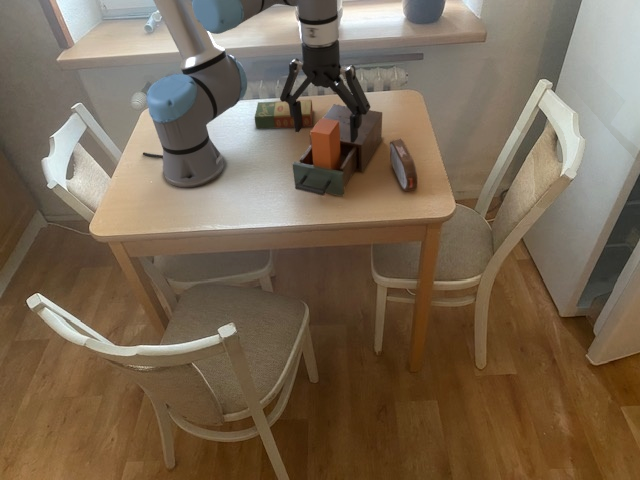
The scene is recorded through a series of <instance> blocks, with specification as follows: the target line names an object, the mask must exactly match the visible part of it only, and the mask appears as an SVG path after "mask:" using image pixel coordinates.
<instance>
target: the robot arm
mask: <svg viewBox="0 0 640 480" xmlns="http://www.w3.org/2000/svg"><path fill="white" fill-rule="evenodd" d="M153 3H154V4H155V7H156V8H157V10H158V12H159V15H160V17H161V19H162V21H163V22H164V24H165V27H166V28H167V30H168V32H169V34H170V36H171V38H172V41H173V42H174V44H175V46H176V48H177V50H178V53H179V54H180V56H181V58H182V59H181V64H180V71H181V72H182V73H173V74H171V75H170V76H167V75H166V76H164V77H162V78H159V79H158V80H157V81H155V82H154V83H152V84H151V86H149V89H148V90H147V92H146V97H145V98H146V104H147V108H148V114H149V117H150V118H151V120H152V122H153V126H154V128H155V131H156V134H157V136H158V139H159V142H160V145H161V147H162V154H154V153H148V152H145V151H143V152H142V155H143V156H145V157H148V158H158V159H162V173H163V176H164V178H165V180H166V182H168V184H170V185H172V186H174V187H179V188H194V187H195V188H196V187H200V186H203V185H206V184H208V183H211V182H212V181H214V180H215V179H217V178H218V177H219V175H221V173H222V171H223V170H224V159H223V156H222V155H221V152H220V151H219V149H218V148H217V146H216V145H215V143H214V142H212V139H211V138H210V135H209V131H208V127H207V125H208V124H209V123H210V122H212V121H213V120H215V119H217V118H218V117H220V116H221V115H222V114H224V113H225V112H227V111H228V110H229V109H230V108H233V107H235V106H237V104H238V103H239V102H240V101H241V100H242V99H243V98H244V97H245V95H246V92H247V89H248V78H247V73H246V70H245V69H244V67H243V64H241V61H239V60H237V58H236V57H235V56H233V55H231V54H228V53H227V52H226V50H225V48H224V47H221V46H219V45H217V43H215V41H214V39H213V37H212V35H211V34H214V35H219V34H220V35H221V34H223V33H225V32H228V31H230V30H231V31H232V30H234V29H235V28H238V27H239V26H240V25H241V24H243V23H244V22H246V21H248V20H249V19H251V18H253V17H254V16H257V15H259V14H260V13H262V12H264V11H266V10H267V9H269V8H272V7H273V6H275V5H281V6H282V5H283V6H289V7H296V8H297V10H296V11H297V17H298V27H299V37H300V41H301V43H300V48H301V49H300V50H301V59H302V61H300V60H299V59H298V58H297V57H296V58H294V59H293V60H292V61H291V62H290V63H289V65H288V75H287V78H286V79H285V80H286V81H285V83H284V86H283V88H282V92H281V93H280V97H279V101H282V102H284V101H285V102H287V103H288V105H289V109H290V116H291V117H294V125H295V127H294V132H295V133H300V131H301V130H303V128H304V127H303V119H302V110H301V101H297V102H296V100H299V98H300V97H301V95H302V94H303V93H304V92H305V90H306V89H307V88H308V87H309V86H310V84H311V85H313V86H314V87H317V88H319V87H321V88H324V89H329V88H330V90H332V92H333V93H335V94H336V95H337V96H338V97H339V98H340V100H341V101H342V102H343V104H344V106H347V107H348V108H349V110H350V111H351V112H352V114H351V115H350V140H351V142H352V143H354V142H355V140H356V139H357V137H358V129H359V127H360V126H361V124H362V114H363V115H366V113H367V112H368V111H369V110H371V105H370V102H369V100H368V98H367V96H366V94H365V92H364V90H363V88H362V85H361V83H360V81H359V79H358V77H357V73H356V67H355V65H352V64H351V65H350V66H349V67H342V65H341V62H340V59H341V57H340V56H341V55H340V52H341V51H340V40H339V38H340V29H339V15H338V13H339V11H338V0H153ZM301 71H302V72H303V73H304V75H305V77H306V78H305V79H304V81H302V83H301V85H299V87H298V88H297V89H296V90H295V92H293V94H291V93H292V90H293V88H294V85H295V84H296V80H297V78H298V75H299V73H300V72H301ZM341 75H342V77H343V78H342V77H341ZM343 79H344V80H345V81H346V84H347V86H348V87H347V86H346V84H345V82H344V80H343Z"/></svg>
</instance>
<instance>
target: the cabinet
mask: <svg viewBox="0 0 640 480" xmlns="http://www.w3.org/2000/svg"><path fill="white" fill-rule="evenodd" d="M351 114H352V112H351V111H350V110H349V108H348V107H347V106H346V105H340V104H332V105H331V107H330V109H329V110H328V111H327V112H326V114H324V116H323V117H322V118H325V119H331V120H336V121H339V128H340V144H345V145H350V146H355V147H359V164H358V166H357V167H356V169H355V171H354V172H359V173H362V172H363V171H364V169H365V168H366V166H367V164H368V162H369V161H370V159H371V157H372V155H373V153H374V152H375V151H376V149H377V147H378V146H379V144H380V142H381V141H382V135H383V134H382V133H383V112H382V111H378V110H377V111H376V110H371V109H369V111H368V112H367V113H366V115H363V114H362V124H361V126H360V127H359V129H358V137H357V139H356V140H355V142H354V143H352V142H351V140H350V115H351ZM309 143H310V144H309V146H310V145H311V144H312V142H311V133H310V134H309Z"/></svg>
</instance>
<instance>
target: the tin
mask: <svg viewBox="0 0 640 480" xmlns="http://www.w3.org/2000/svg"><path fill="white" fill-rule="evenodd" d="M389 158H390V163H391V167H392V170H393V172H394V174H395V177H396V179H397V181H398V183H399V185H400V187H401V189H402V190H403V191H404V192H411V191H416V190H417V188H418V173H417V168H416V163H415V161H414V158H413V157H412V155H411V153H410V151H409V149H408V147H407V145H406V143H405V141H404V139H403V138H398V139H392V140H391V141H390V142H389Z"/></svg>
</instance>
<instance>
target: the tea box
mask: <svg viewBox="0 0 640 480" xmlns="http://www.w3.org/2000/svg"><path fill="white" fill-rule="evenodd" d="M310 134H311V142H312V154H313V165H314V166H318V167H323V168H327V169H332V170H337V171H339V170H340V167H341V155H340V128H339V121H336V120H331V119H325V118H323V117H321V118H320V119H319V120H318V121H317V123H315V125H314V127H312V129H311V130H310Z"/></svg>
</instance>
